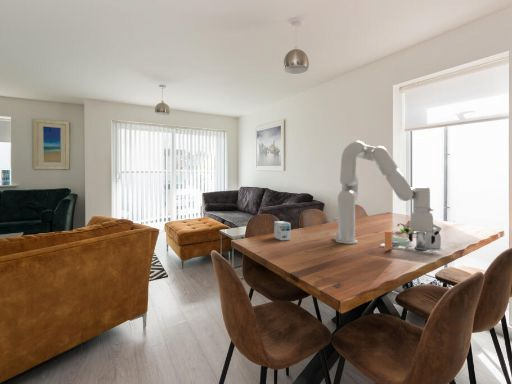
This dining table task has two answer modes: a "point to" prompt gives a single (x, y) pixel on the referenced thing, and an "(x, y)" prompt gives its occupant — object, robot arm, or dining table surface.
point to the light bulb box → (282, 230)
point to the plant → (404, 232)
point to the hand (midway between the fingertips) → (421, 242)
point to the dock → (399, 243)
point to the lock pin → (389, 240)
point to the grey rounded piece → (420, 241)
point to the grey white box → (428, 240)
